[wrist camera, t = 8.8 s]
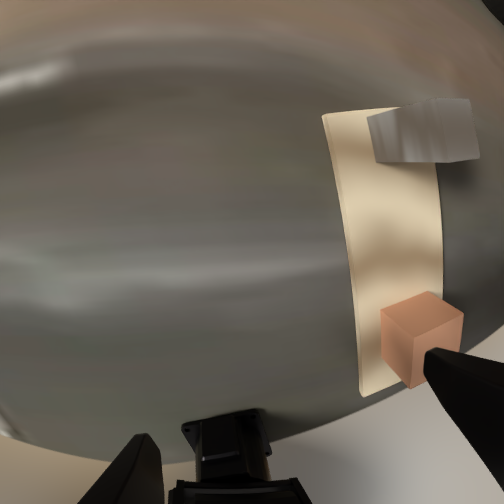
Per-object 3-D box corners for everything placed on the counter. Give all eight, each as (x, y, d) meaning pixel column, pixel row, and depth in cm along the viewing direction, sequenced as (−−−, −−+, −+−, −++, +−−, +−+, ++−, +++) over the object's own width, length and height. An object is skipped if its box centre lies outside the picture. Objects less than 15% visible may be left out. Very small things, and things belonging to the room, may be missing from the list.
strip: (432, 358, 24) (481, 404, 17) (359, 391, 24) (400, 452, 16) (417, 107, 18) (494, 92, 11) (321, 116, 18) (386, 87, 10)
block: (425, 337, 22) (456, 364, 18) (381, 357, 22) (409, 389, 18) (427, 290, 21) (463, 313, 17) (380, 309, 21) (413, 338, 16)
